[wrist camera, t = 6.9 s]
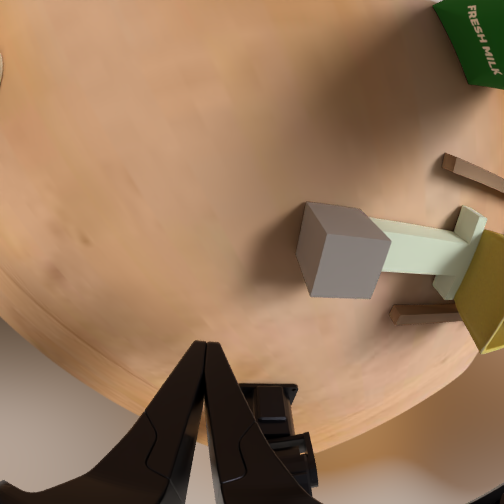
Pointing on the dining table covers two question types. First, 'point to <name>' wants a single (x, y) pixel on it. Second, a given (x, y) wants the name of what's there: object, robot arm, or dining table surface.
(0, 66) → the flower pot
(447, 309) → the bay
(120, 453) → the robot arm
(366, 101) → the dining table surface
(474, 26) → the milk carton
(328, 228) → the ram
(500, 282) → the flower pot
